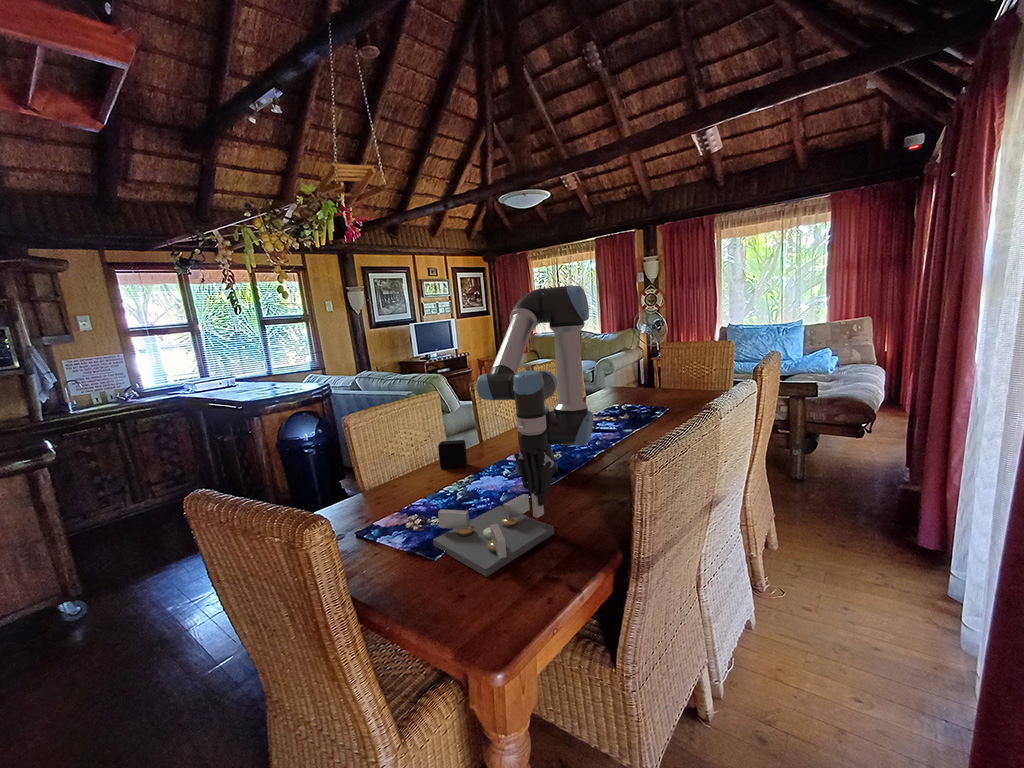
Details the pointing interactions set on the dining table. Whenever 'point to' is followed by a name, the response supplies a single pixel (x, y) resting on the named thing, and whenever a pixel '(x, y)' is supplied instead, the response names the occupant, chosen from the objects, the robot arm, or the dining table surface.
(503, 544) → the knob
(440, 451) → the electronic device
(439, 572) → the dining table surface
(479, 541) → the base plate
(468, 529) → the knob
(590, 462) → the dining table surface
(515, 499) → the knob
